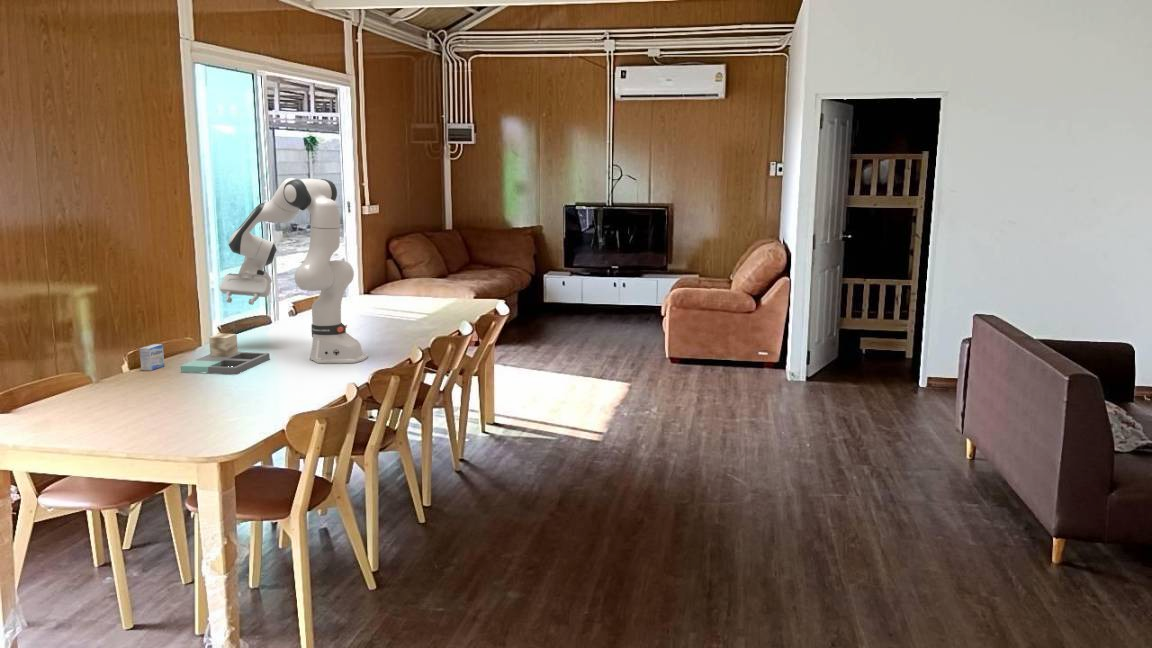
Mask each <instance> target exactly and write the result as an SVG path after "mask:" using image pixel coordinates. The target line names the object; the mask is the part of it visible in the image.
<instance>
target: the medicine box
mask: <svg viewBox="0 0 1152 648" xmlns="http://www.w3.org/2000/svg"><path fill="white" fill-rule="evenodd" d="M164 356H165V355H164V345H163V344H161V343H160V344H159V343H153V344H150V345H147V346H143V347H140V348H139V359H140V368H141V369H140V370H141V371H151V372H152V371H155V370H158V369H161V368H163V367H165V365H166V364H165V357H164Z"/></svg>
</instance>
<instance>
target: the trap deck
mask: <svg viewBox="0 0 1152 648" xmlns="http://www.w3.org/2000/svg"><path fill="white" fill-rule="evenodd" d="M269 360H271V357H270V353H268V352H249V351H247V352H245V351H238V353H235V354H233V355H230V356H228V357H220V356H210V353H209V354H207V355H204V356H202V357H200V358H199V357H198V358H197V359H194V360H192V361H189V362H186V363H183V364H181V365H180V373H187V372H206V373H205V374H209V373H221V374H220V375H231V374H237V375H238V373H239V374H240V372H241V373H243V372H245V371H248V370H250V369H252V368H254V367H256V366H258V365H260V364H262V363H265V362H267V361H269ZM228 366H229V367H228ZM231 366H233V367H231ZM247 369H248V370H247Z"/></svg>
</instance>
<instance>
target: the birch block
mask: <svg viewBox="0 0 1152 648" xmlns="http://www.w3.org/2000/svg"><path fill="white" fill-rule="evenodd" d="M208 341H209V354H210V356H220V357H228V356H230V355H233V354H235V353H238V352H239V351H238V336H237V333H222V332H221V333H220V332H219V333H217V334H214V335H211V336H209V337H208Z"/></svg>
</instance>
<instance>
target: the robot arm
mask: <svg viewBox="0 0 1152 648" xmlns="http://www.w3.org/2000/svg"><path fill="white" fill-rule="evenodd" d="M337 189H338V188H337V187H336V185H335V183H333V181H331V180H328V179H324V178H321V179H319V178H310V177H309V178H300V179H299V178H295V177H289V178H286V179H284V181H282V183H281V184H279V186H278V188H277V189H276V191H275V192H274V194H273V196H272V197H271V199H269V200H268V201H266V202H260V203H259V204H258V205H257V206H256V207H255V208H254V209H253V210H252V211H251V212H250V214H249V215H248V216H247V217H246V219H245V220H244V221H243V222H242V223H241V225H240V226H239V227H238V228H237V229H236V230H235V231H233V233H232V234H231V236H230V237H229V240H228V246H229V249H230V250H231V251H232V253H234V254H237V255H241V256H244V258H243V259H244V260H243V262H242V264H241V266H240V268H239V271H238V273H232V272H231V273H230V272H229V273H227V274H225V275H224V277H223V280H222V281H221V283H220V285H219V290H220V292H221V293H222V294H224V295H226V297H227V298H226V300H225V301H226V303H228V304H229V303H230V304H231V303H232V301H233V298H232V295H234V296H235V295H236V296H246V297H247V296H249V297H251V298H249V299H248V304H249V305H254V304H255V302H256V301H257V300H259V298H260V297H261V298H267V297H268V296H269V295H270V292H271V289H272V285H271V284H272V278H271V276H270V274H269V273H268V272H267V271H265V270H264V267H267V266H268V265H271V264H272V263H273V262H274V259H275V256H276V253H277V251H278V250H277V247H276V244H275V243H274V242H273V241H270V240H268V239H266V238H263V237H260V236H258V235H256V234H254V233H252V232H251V231H252V230H253V229H254V228H255V227H256V225H258V224H259V223H265V222H267V223H274V224H275V223H277V224H283V223H284V224H285V223H288V222H291V221H293V219H294V218H295V217H296V216H297V214H298V213H299V210H300V211H306V210H308V212H309V213H310V233H309V234H310V235H309V236H310V238H309V247H308V251H307V254H306V255H305V258H304V260H303V261H302V263H301V264H300V265H299V266H297V268H296V270H295V272H294V282H295V284H296V286H297V288H299V289H300V290H302V291H307V292H317V291H320V293H319V296H318V297H317V299H316V300H314V302H312V305H311V316H312V318H311V319H312V323H311V337H312V344H311V345H312V346H311V353H310V357H309V360H311V361H312V360H313V362H315V363H316V364H355V363H360V362H362V361H364V360H366V359H367V358H369V357H368V354H367V353H364V352H363V349H362V345H361V343H360V342H359V340H357V339H356V338H354V337H353V335H350V334H349V333H348V332H347V331H346V330H347V328H348V324H345V325H344V323H342V301H343V297H344V294H345V291H346V289H347V288H348V286H349V285H350V284H351V283H352V282H353V280H354V276H355V275H354V274H355V273H354V268H353V266H352V265H351V264H350V262H348V261H344V260H337V259H336V260H331V258H332V256H333V255H334V253H336V252H337V251H338V250H339V248H340V243H341V241H340V238H341V237H340V235H341V232H340V231H341V225H340V224H341V223H340V221H341V220H340V219H341V218H340V212H339V206H338V203H337V202H336V201H337V197H338V190H337Z"/></svg>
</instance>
